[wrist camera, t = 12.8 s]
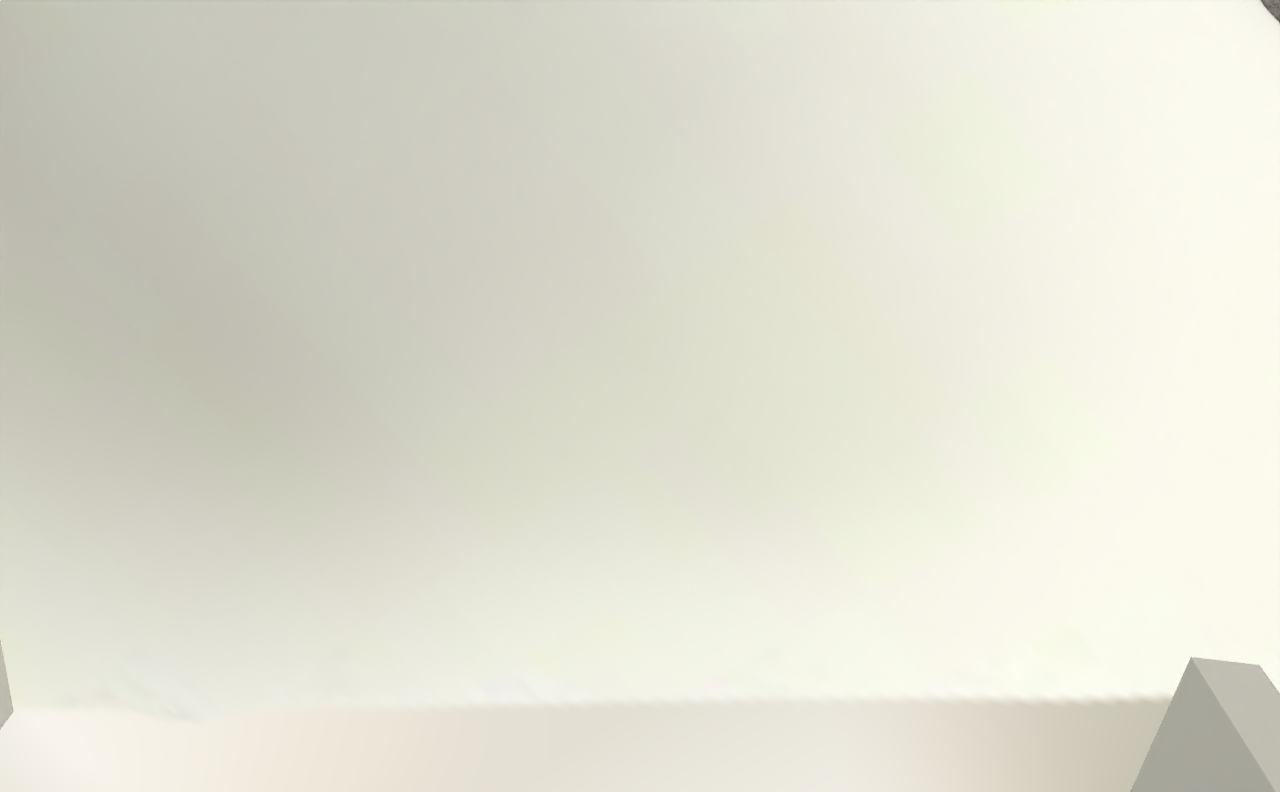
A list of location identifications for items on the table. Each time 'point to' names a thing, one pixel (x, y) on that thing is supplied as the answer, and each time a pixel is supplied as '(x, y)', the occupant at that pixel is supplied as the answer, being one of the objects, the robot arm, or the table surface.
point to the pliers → (1273, 7)
